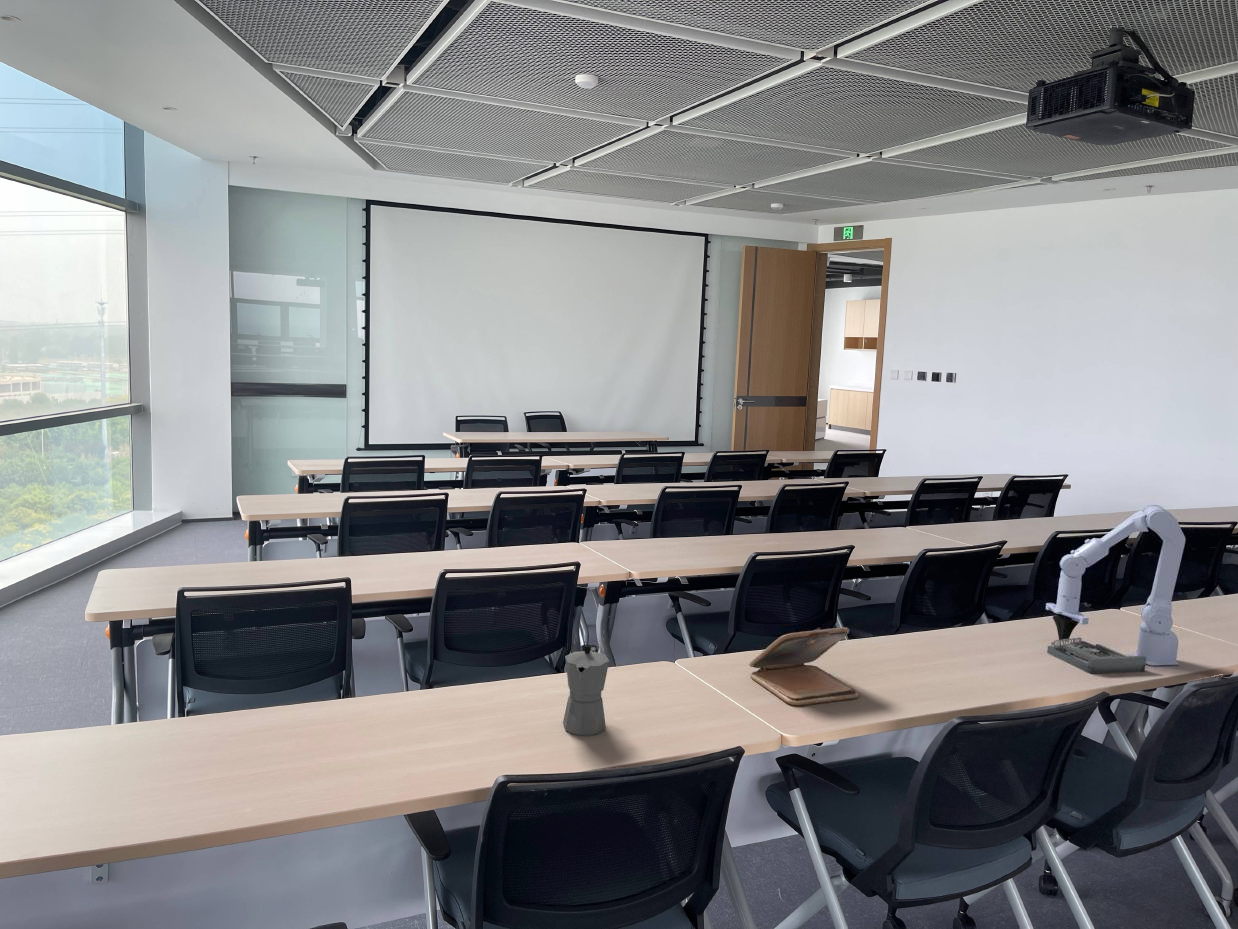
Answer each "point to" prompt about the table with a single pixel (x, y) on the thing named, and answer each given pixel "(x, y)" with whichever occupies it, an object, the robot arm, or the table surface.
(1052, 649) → the mounting bracket
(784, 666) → the case
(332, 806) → the table surface
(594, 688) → the coffeepot
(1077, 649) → the graphics card
